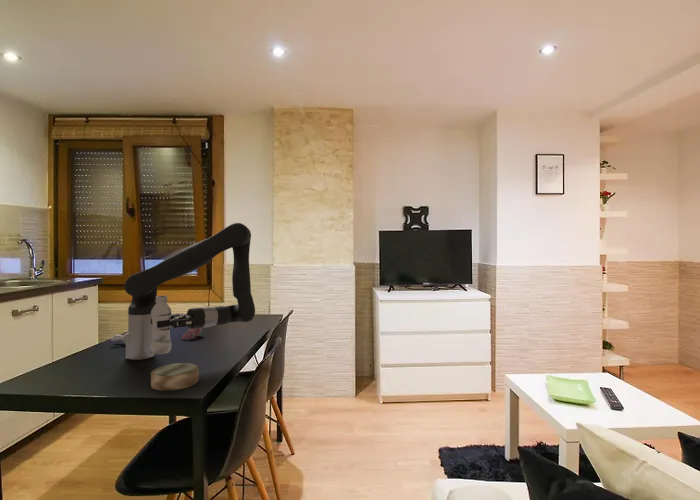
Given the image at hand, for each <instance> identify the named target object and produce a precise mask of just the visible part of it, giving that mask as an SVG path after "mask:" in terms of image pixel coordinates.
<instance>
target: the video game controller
mask: <svg viewBox="0 0 700 500" xmlns="http://www.w3.org/2000/svg"><path fill="white" fill-rule="evenodd" d="M202 330H203V328H197V329H190V328H188V330H187V331H186V332H185V333H183V334H182V335H181V340H182V341H185V340H188V339H191V340H192V339H194V338H197V337H198V336H199V334H201V332H202Z"/></svg>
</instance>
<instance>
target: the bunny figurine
mask: <svg viewBox="0 0 700 500" xmlns="http://www.w3.org/2000/svg"><path fill="white" fill-rule="evenodd" d="M127 333H128V332H126V333H124V334H123V335H122V334H115V335H114V337H111V338H110V341H111V342H119V341H121V342H122V343H123V344H124V345H125V346H126V334H127Z"/></svg>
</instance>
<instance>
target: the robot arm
mask: <svg viewBox="0 0 700 500" xmlns="http://www.w3.org/2000/svg"><path fill="white" fill-rule="evenodd" d="M251 239H252V233H251V230H250V229H249V227H248V226H246V225H245V224H244V223H240V222H234V223H230V224H229V225H227V226H226V227H223V229H220V231H217V233H214V235H212V236H210V237H208V238H205V239H203V240H201V241H198V242H196V243H194V244H192V245H190V246H187V247H186V248H183V249H181V250H180V251H178V252H176V253H174V254H172V255H171V256H169V257H168V258H166V259H164V260H161V262H159V263H158V264H156V265H154V266H151V267H149V268H146V269H144V270H142V271H139V272H136V273H133V274H132V275H130V276H129V277H128V278H127V279H126V281H125V282H124V291H125V292H126V293H127V294H128V295H130V296H131V303H130V304H129V306H128V309H127V314H128V315H127V319H128V320H127V322H128V323H127V325H128V327H127V332H126V333H127V334H126V333H125V334H126V345H125V359H128V360H133V361H134V360H136V361H138V360H146V359H150V358H153V357H154V356H155V355H156V354H153V353H152V351H151V342H152V336H153V323H152V316H151V311H152V309H153V307H154V306H155V304H156V302H155V300H156V296H158V287H159V286H160V285H162V284H164V283H166V282H169V281H171V280H174V279H177V278H180V277H182V276H185V275H187V274H189V273H191V272H193V271H196V270H198V269H199V268H201V267H203V266H204V265H206V264H208V263H209V262H210V261H211V260H212V259H214V258H215V257H216V256H217V255H219V254H221V253H223V252H225V251H227V250H229V249H232V254H233V266H232V274H231V275H232V279H231V281H232V295H233V297H234V299H236V301H237V304H231V305H226V306H225V305H220V306H204V307H203V306H202V307H193V308H192V307H191V308H189V309H187V311H186V314H184V313H171V319H170V320H163V321H157V327H158V328H162V327H170V328H173V329H176V328H185V327H188V329H197V328H202V329H204V328H205V329H206V328H210V327H215V326H220V325H221V326H222V325H226V324H227V325H228V323H239V322H240V323H249V322H251V321H253V319H254V318H255V315H256V307H255V302H254V298H253V295H252V285H251V273H250V271H251V270H250V248H251V247H250V246H251Z"/></svg>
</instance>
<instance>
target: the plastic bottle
mask: <svg viewBox="0 0 700 500" xmlns="http://www.w3.org/2000/svg"><path fill="white" fill-rule="evenodd" d="M168 301H169V300H168V296H167V295H157V296H156V300H155V302H156V304H155V306H154V307H153V309H152V311H151V316H152V323H153V336H152V342H151V351H152V353H153V354H155V355H165V354H169V353H170V352H171V351H172V347H173V346H172V339H171V333H170V332H171V330H170V328H171V327H162V328H158V327H157V321H163V320H170V319H171V314H172V309H171V307H170V305H169V304H168Z"/></svg>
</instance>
